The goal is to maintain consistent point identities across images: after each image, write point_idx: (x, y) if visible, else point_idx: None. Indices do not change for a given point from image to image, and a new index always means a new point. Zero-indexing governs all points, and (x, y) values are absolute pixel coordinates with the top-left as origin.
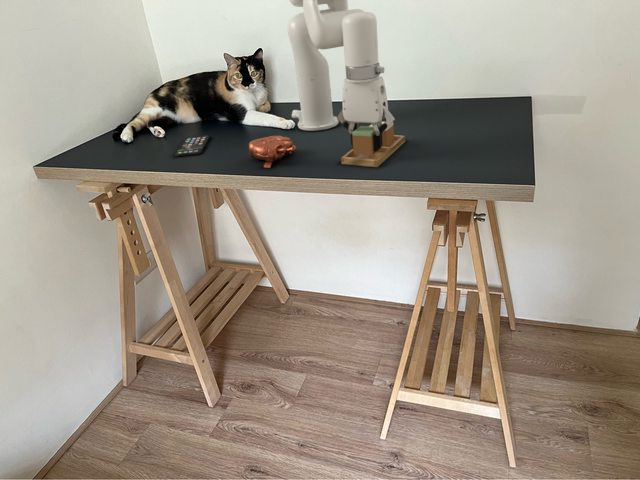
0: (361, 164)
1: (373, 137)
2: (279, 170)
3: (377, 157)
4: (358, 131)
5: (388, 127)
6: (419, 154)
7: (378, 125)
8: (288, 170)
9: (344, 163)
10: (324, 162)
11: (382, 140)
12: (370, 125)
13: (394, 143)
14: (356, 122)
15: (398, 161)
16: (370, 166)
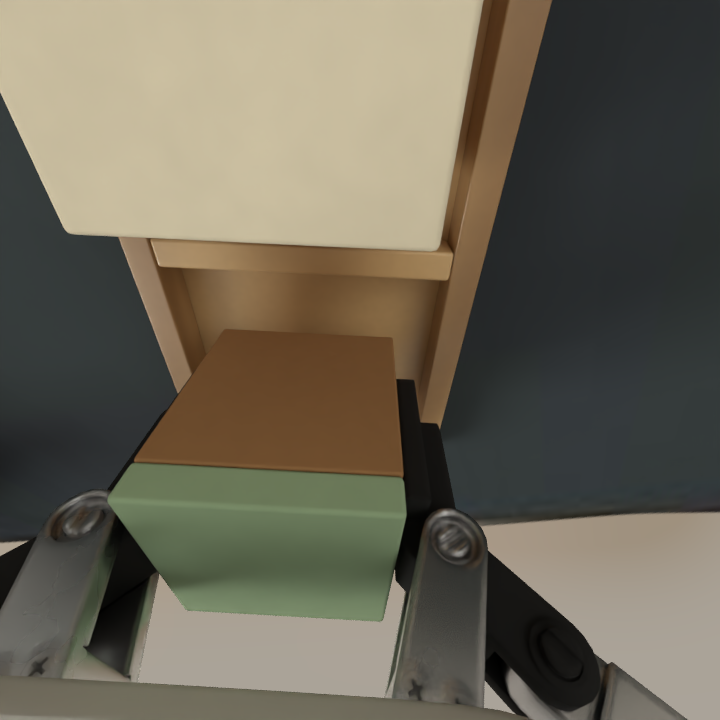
0: None
1: None
2: (25, 509)
3: None
4: (232, 603)
5: (459, 108)
6: (714, 217)
7: (427, 617)
8: (58, 505)
9: None
10: (119, 432)
11: (443, 451)
12: (22, 115)
13: (494, 131)
14: (107, 669)
15: (530, 367)
16: None
